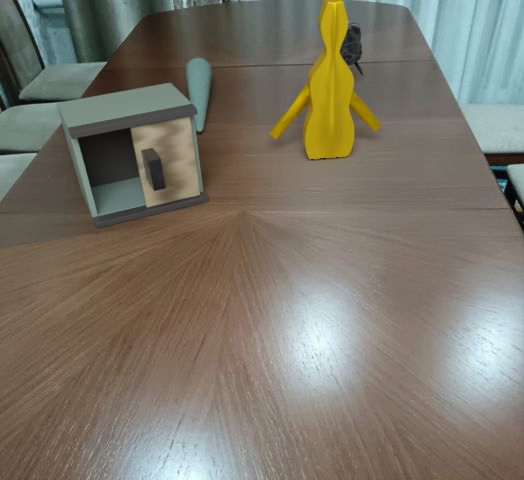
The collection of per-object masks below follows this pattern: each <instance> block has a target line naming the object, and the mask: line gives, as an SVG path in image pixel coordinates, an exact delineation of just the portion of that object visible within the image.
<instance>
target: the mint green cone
mask: <svg viewBox="0 0 524 480" xmlns="http://www.w3.org/2000/svg"><path fill="white" fill-rule="evenodd" d="M212 77H213V70H212V67H211V64H210V63H209V62H208V61H207V60H206V59H204V58H202V57H194V58H192V59H190V60H189V61H188V62H187V65H186V66H185V80H186V85H187V93H188V99H189V101H190V102H191V103H192V104H193V105H194V106H195V107H196V108H197V114H196V115H194V122H195V130H196V132H197V131H202V130H203V131H204V129H205V124H206V118H207V112H208V106H209V100H210V93H211V85H212Z"/></svg>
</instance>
